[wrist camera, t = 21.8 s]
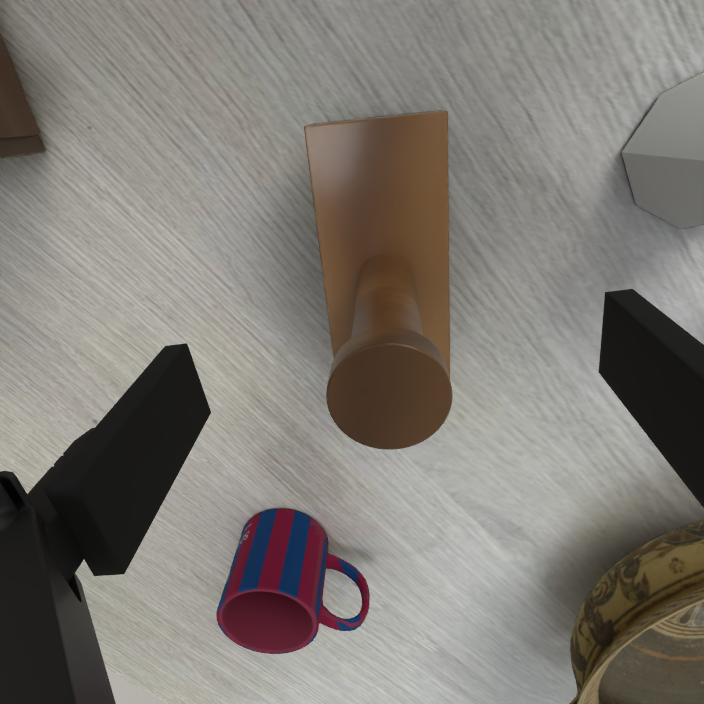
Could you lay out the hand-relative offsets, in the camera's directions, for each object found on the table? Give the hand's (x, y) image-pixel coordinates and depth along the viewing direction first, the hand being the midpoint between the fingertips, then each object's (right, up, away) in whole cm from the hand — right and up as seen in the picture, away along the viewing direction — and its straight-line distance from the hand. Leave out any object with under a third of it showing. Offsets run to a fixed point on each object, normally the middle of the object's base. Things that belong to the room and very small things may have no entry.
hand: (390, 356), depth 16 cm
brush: (+1, +6, +12) cm, 13 cm away
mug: (-5, -15, +23) cm, 28 cm away
